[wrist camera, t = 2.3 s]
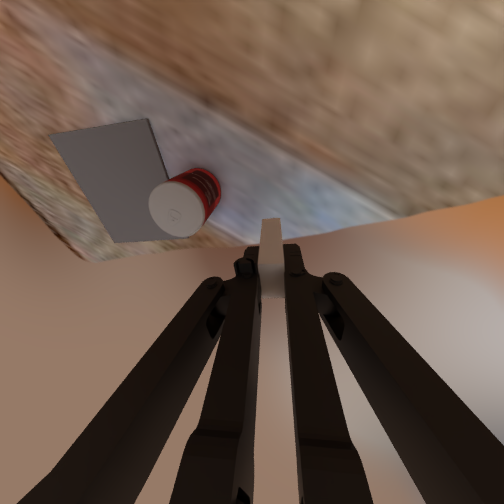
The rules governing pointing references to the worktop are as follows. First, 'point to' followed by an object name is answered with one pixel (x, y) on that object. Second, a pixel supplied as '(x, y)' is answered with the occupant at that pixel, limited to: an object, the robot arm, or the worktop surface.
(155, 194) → the canned food
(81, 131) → the rubber mat
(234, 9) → the worktop surface
